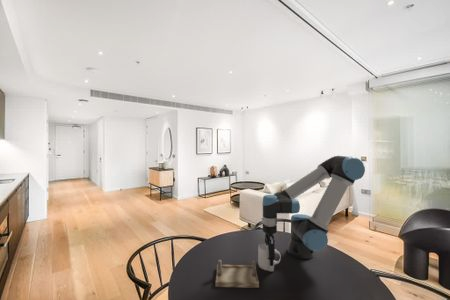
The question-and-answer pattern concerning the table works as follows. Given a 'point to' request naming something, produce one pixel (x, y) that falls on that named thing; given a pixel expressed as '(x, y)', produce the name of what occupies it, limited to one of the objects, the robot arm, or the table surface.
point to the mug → (265, 256)
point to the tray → (237, 275)
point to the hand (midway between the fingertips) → (269, 265)
